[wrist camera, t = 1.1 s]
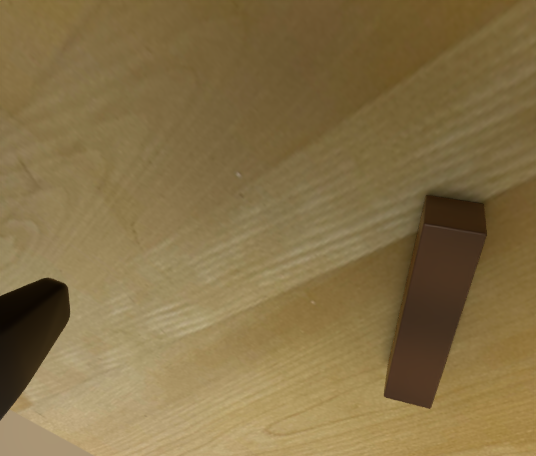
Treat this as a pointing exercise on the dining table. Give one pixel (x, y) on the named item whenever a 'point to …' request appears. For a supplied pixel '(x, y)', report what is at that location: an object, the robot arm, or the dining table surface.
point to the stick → (434, 297)
